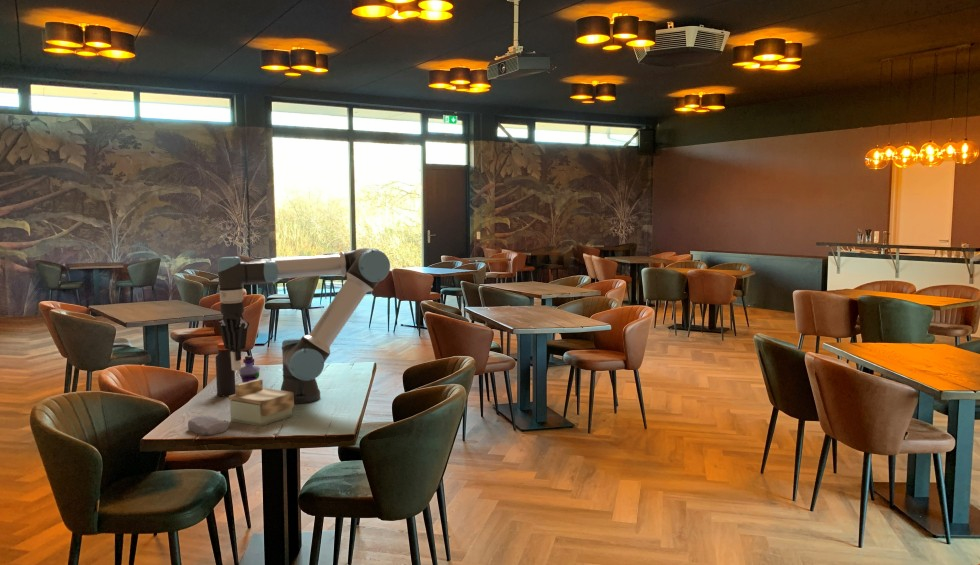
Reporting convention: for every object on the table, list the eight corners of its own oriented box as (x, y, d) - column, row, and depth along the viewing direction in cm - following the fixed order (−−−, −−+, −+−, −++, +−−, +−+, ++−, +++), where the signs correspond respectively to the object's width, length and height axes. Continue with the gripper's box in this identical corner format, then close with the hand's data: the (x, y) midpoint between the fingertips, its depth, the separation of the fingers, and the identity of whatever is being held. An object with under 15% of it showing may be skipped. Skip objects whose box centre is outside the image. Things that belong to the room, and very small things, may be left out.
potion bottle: (258, 386, 291) (257, 357, 290) (236, 387, 289) (235, 358, 288) (262, 382, 299) (261, 353, 298) (240, 382, 298) (239, 354, 297)
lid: (261, 401, 252) (260, 377, 252) (295, 406, 244) (294, 382, 244) (229, 410, 240) (228, 385, 240) (263, 416, 232) (262, 390, 232)
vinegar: (218, 393, 280) (215, 342, 279) (236, 391, 282) (234, 341, 280) (216, 397, 274) (213, 345, 272) (234, 395, 275) (232, 344, 274)
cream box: (263, 411, 252) (262, 391, 252) (291, 416, 246) (291, 396, 245) (230, 420, 240) (230, 400, 240) (260, 426, 233) (259, 405, 233)
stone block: (212, 429, 238) (184, 430, 230) (214, 414, 238) (186, 415, 230) (232, 437, 230) (203, 438, 223) (234, 422, 231) (206, 423, 223)
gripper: (209, 302, 244) (214, 370, 246) (236, 303, 238) (241, 373, 240) (227, 300, 251) (231, 366, 253) (253, 301, 245) (258, 368, 247)
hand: (236, 369), depth 247 cm, fingers closed
